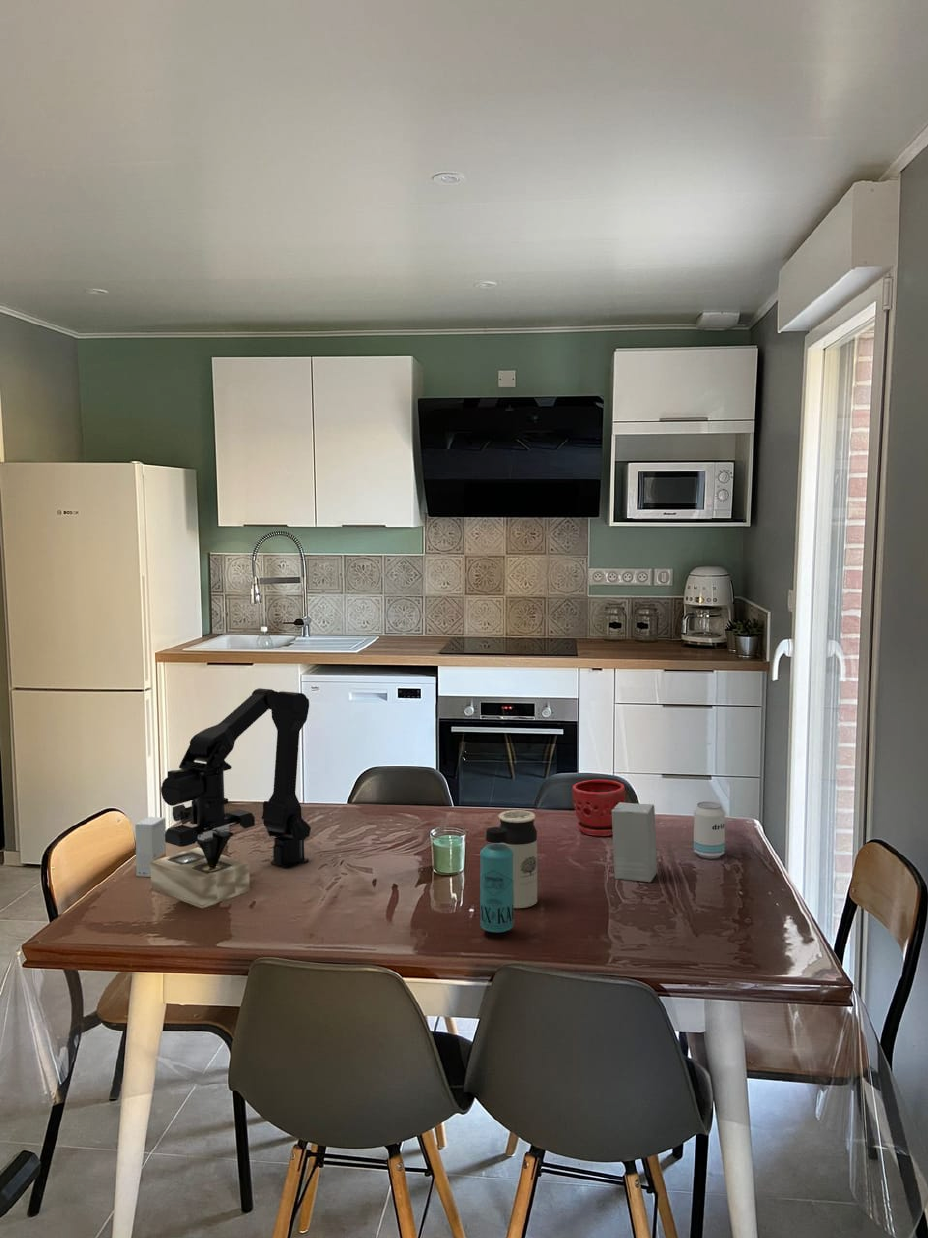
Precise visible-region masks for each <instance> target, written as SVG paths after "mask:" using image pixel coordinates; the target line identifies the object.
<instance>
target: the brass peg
mask: <svg viewBox="0 0 928 1238" xmlns="http://www.w3.org/2000/svg"><path fill="white" fill-rule="evenodd" d="M220 868H222V865H219V864H217V865H216V867H215V868H210V867H209V865H206V866H204V867H203V868H202V869H203V870H206V871H209V872H211V871H214V870H217V869H220Z"/></svg>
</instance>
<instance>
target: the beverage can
mask: <svg viewBox="0 0 928 1238" xmlns="http://www.w3.org/2000/svg"><path fill="white" fill-rule="evenodd" d="M725 815H726V813H725V811H724V809H723V805H722V804H721V803H720V802H715V801H698V802H697V804H696V807H695V809H694V810H693V851H694V853H695V854H697V855H698V857H699V858H702V859H708V860H715V859H716V860H717V859H719V858H720V857H721V856H722V855H724V854H725V845H726V844H725V837H726V836H725V835H726V832H725V831H726V830H725V829H726V827H725V824H726V822H725V821H726V819H725V818H726V817H725Z"/></svg>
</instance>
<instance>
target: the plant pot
mask: <svg viewBox="0 0 928 1238" xmlns="http://www.w3.org/2000/svg"><path fill="white" fill-rule="evenodd" d="M625 787H626V786H625V785H624V784H623V783H622V782H620V781H616V780H610V779H588V780H583V781H578V782H577V783H575V784H574V785H573V786H572V802H573V808H574V811H575V812H574V813H575V814H576V817H577V819H578V822H577V824H576V825H577V828H578V830H579V831H580V832H582V833H583V834H586V835H588V836H589V835H590V836H593V837H594V836H597V837H608V836H609V837H610V836H613V829H612V812H611V811H612V810H613V809H614V807H615V806H616V805H617V804H618V803H619V802H623V803H626V789H625Z"/></svg>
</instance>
